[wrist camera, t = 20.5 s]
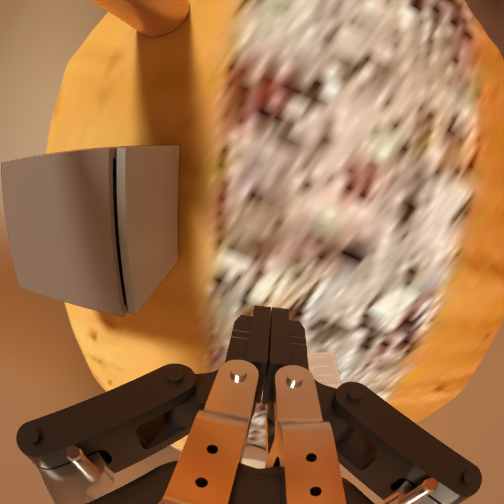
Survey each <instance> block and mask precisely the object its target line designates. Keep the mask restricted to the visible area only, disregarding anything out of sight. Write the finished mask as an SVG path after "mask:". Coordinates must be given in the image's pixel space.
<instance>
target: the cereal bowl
mask: <svg viewBox="0 0 504 504" xmlns="http://www.w3.org/2000/svg"><path fill="white" fill-rule="evenodd" d="M242 464H245V465H248V466H251V467H254V468H259V469H262V468H265V464H266V451H265V450H263V449H261V448H258V447H255V446H252V445H246V447H245V451H244V456H243V460H242Z"/></svg>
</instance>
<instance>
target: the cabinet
mask: <svg viewBox="0 0 504 504" xmlns="http://www.w3.org/2000/svg"><path fill="white" fill-rule="evenodd" d="M146 146H163V145H146ZM124 147H140V146H121V147H105V148H92V149H81V150H72V151H64V152H57V153H50V154H44V155H38V156H33V157H27V158H22V159H17V160H12V161H7V162H3V163H1V175H2V192H3V203H4V212H5V219H6V226H7V232H8V238H9V244H10V249H11V253H12V258H13V262H14V267H15V271H16V275H17V279H18V282H19V286H20V288H23V289H26V290H29V291H32V292H35V293H38V294H41V295H44V296H47V297H50V298H53V299H57V300H60V301H63V302H67V303H70V304H74V305H77V306H81V307H84V308H88V309H92V310H96V311H100V312H104V313H108V314H112V315H116V316H120V317H123V316H124V315H125V314H126V312H127V311H128V306H127V300H126V293H125V286H124V279H123V271H122V262H121V257H118V256H117V246H116V235H115V221H114V202H113V159H114V158H117V148H124Z"/></svg>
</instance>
